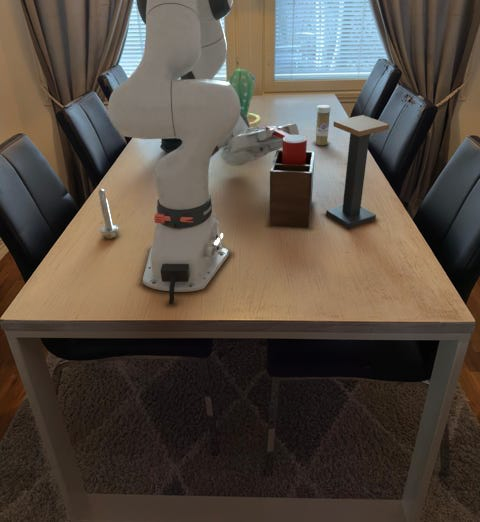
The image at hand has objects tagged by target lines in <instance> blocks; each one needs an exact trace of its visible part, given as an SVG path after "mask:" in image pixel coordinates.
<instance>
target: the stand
mask: <svg viewBox="0 0 480 522" xmlns="http://www.w3.org/2000/svg"><path fill="white" fill-rule="evenodd" d="M333 127H334V128H337V129H339V130H340V131H341V130H342V131H344V132H346V133H349V142H348V152H347V161H346V169H345V170H346V172H345V182H344V191H343V201H342V205H338V206H335V207H332V208H328V209H326V210H325V216H327V217H329V218H330V219H331V220H333V221H335V222H336V223H338V224H340V226H343V227H344V228H346V229H348V230H350V229H353V228H356V227H359V226H362V225H365V224H368V223H370V222H374V221H376V218H377V214H375V213H374V212H371V211H370V210H368V209H366V208H364V207H363V206H362V199H363V191H364V182H365V176H366V175H365V174H366V167H367V158H368V152H369V151H368V150H369V142H370V136H371V134H376V133H379V132H384V131H388V130H389V129H390V124H389V123H387V122H384V121H381V120H378V119H375V118H372V117H370V116H367V115H364V114H361V115H356V116H352V117H348V118H347V117H346V118H342V119H338V120H334V121H333Z"/></svg>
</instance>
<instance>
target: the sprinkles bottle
mask: <svg viewBox="0 0 480 522" xmlns="http://www.w3.org/2000/svg"><path fill="white" fill-rule="evenodd" d="M330 114H331V106H330V105H329V104H319V105H317V106H316V123H315V124H316V125H315V141H314V143H315V145H317V146H326V145H328V138H329V128H330Z"/></svg>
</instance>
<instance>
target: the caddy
mask: <svg viewBox="0 0 480 522" xmlns="http://www.w3.org/2000/svg"><path fill="white" fill-rule="evenodd" d="M275 151H276V152H275V154H274V157H273V160H272V164H271V167H270V170H269V226H270V227H283V228H295V229H297V228H298V229H309V228H310V219H311V212H312V204H313V203H312V202H313V188H314V172H315V158H316V157H315V156H316V155H315V154H316V151H313V150H312V151H311V150H306V165H298V164H282V150H281V149H278V150H275Z"/></svg>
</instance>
